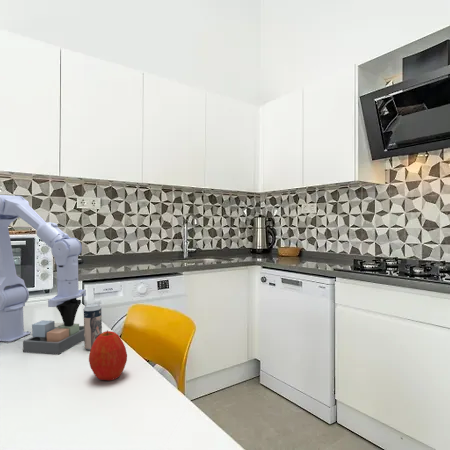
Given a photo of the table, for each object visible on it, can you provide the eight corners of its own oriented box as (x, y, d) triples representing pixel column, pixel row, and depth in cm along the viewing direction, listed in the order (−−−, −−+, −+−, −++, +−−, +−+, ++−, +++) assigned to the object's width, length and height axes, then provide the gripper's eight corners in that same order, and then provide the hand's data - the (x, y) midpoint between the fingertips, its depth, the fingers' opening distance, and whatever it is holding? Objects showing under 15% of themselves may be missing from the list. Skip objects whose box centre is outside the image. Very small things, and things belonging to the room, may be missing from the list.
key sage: (58, 338, 101) (58, 327, 101) (67, 334, 105) (67, 323, 105) (70, 339, 100) (70, 327, 100) (79, 335, 104) (79, 323, 104)
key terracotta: (46, 344, 96) (46, 332, 96) (56, 339, 100) (56, 328, 100) (59, 345, 95) (59, 333, 95) (69, 340, 99) (68, 328, 99)
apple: (88, 373, 81) (87, 327, 81) (125, 366, 85) (124, 322, 84) (90, 388, 74) (88, 338, 74) (129, 380, 77) (128, 332, 77)
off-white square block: (44, 338, 102) (44, 326, 102) (54, 333, 106) (53, 322, 106) (56, 338, 101) (56, 327, 101) (65, 334, 105) (65, 323, 105)
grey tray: (23, 352, 95) (22, 340, 95) (59, 334, 110) (59, 323, 110) (58, 354, 93) (58, 342, 93) (91, 336, 108) (90, 325, 108)
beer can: (96, 351, 95) (95, 307, 95) (80, 350, 96) (79, 307, 96) (105, 345, 100) (104, 303, 99) (90, 344, 101) (89, 302, 100)
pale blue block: (32, 336, 97) (32, 324, 97) (42, 332, 101) (42, 320, 101) (44, 337, 96) (44, 325, 96) (54, 332, 100) (54, 321, 100)
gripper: (63, 284, 94) (64, 334, 95) (94, 275, 109) (95, 319, 109) (40, 283, 96) (42, 333, 96) (74, 275, 110) (75, 318, 110)
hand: (68, 325), depth 102 cm, fingers closed, pressing on key sage
